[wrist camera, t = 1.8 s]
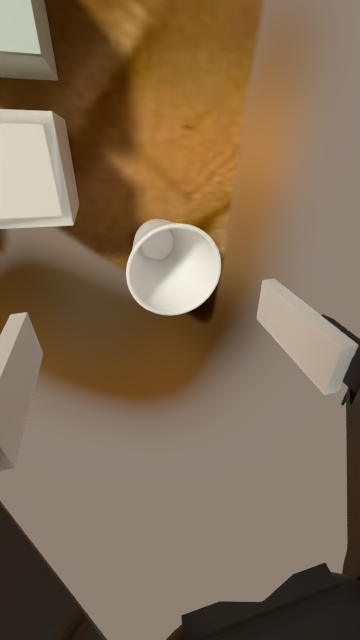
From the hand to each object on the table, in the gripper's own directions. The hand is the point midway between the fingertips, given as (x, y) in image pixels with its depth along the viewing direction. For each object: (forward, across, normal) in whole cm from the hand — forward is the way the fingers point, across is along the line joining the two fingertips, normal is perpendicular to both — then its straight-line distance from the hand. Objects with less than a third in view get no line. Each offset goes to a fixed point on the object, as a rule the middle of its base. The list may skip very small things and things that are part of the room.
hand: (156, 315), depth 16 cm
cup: (+23, +4, -3) cm, 24 cm away
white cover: (+23, -9, +6) cm, 25 cm away
